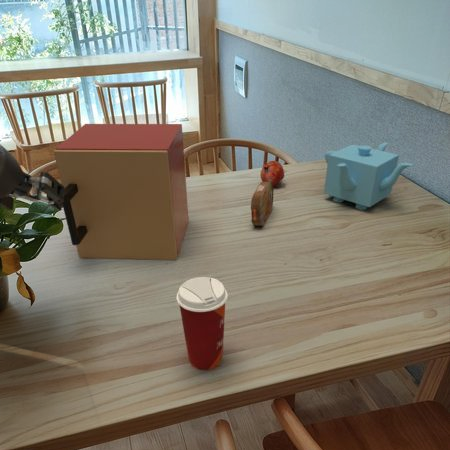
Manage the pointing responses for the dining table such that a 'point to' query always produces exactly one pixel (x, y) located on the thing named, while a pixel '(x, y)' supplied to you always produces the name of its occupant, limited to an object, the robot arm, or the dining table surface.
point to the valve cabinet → (142, 140)
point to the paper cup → (203, 320)
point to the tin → (262, 203)
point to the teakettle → (361, 174)
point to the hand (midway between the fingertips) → (35, 204)
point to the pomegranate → (272, 173)
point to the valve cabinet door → (118, 203)
